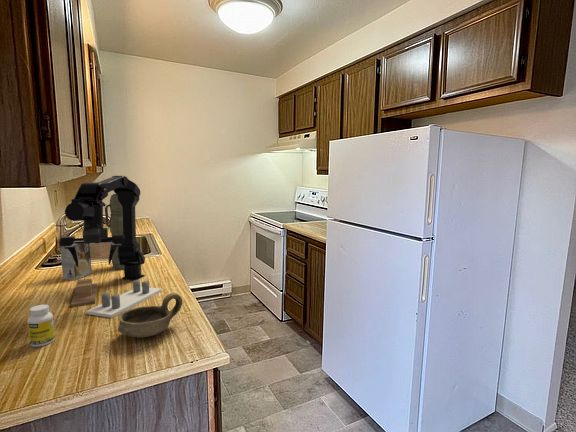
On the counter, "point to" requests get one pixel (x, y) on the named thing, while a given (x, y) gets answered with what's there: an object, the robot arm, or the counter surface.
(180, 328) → the counter surface
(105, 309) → the peg stand
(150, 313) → the bowl
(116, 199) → the thermos
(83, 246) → the coffee box
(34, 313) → the supplement bottle
